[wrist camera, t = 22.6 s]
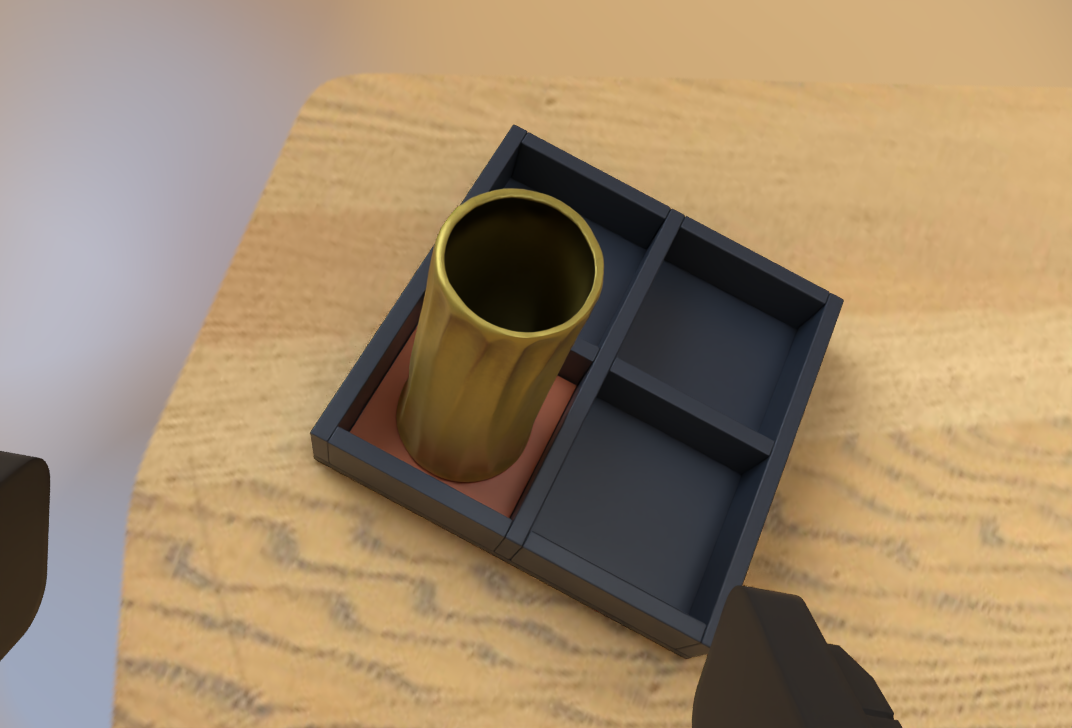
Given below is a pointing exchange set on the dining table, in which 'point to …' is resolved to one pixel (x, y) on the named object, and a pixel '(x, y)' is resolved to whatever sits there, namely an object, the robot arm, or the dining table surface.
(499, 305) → the vase
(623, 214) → the grid
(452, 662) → the dining table surface
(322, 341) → the dining table surface
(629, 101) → the dining table surface
